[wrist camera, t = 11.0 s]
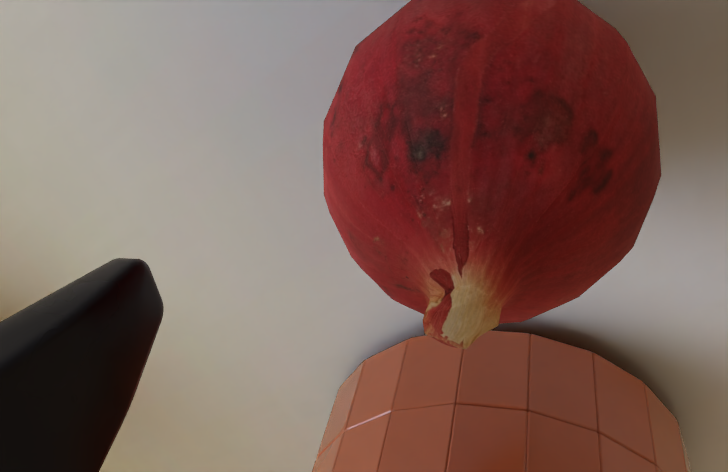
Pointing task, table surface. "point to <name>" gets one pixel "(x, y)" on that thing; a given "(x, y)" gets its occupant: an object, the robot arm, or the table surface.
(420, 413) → the bowl
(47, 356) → the robot arm
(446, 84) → the onion
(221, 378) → the table surface
